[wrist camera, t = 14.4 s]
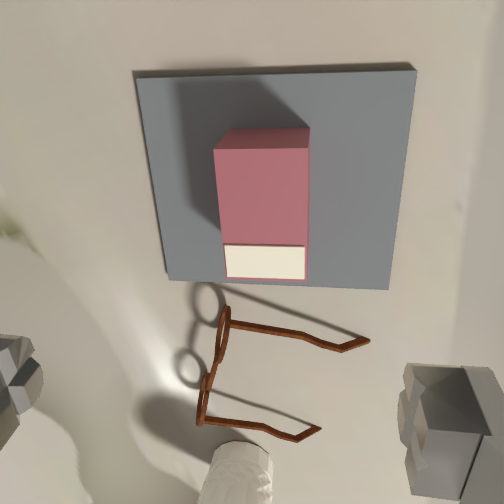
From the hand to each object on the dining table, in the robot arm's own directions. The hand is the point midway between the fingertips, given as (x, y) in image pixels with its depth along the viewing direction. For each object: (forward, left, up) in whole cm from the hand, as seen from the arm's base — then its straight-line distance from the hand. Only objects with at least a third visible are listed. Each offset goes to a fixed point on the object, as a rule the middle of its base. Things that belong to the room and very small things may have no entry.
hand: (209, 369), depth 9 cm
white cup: (-5, -37, -23) cm, 44 cm away
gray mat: (-1, -5, -23) cm, 24 cm away
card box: (-1, -5, -23) cm, 23 cm away
